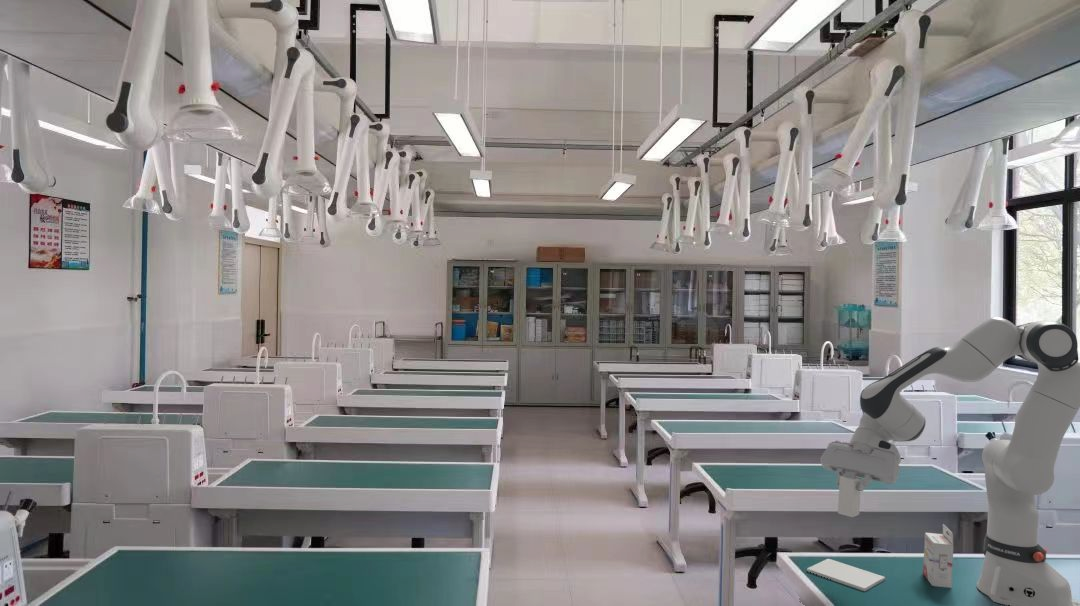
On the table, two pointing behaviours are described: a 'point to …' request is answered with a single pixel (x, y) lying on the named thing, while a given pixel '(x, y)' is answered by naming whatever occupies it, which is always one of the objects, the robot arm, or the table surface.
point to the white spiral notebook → (846, 574)
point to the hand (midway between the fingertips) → (848, 487)
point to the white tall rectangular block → (849, 495)
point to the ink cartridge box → (938, 558)
